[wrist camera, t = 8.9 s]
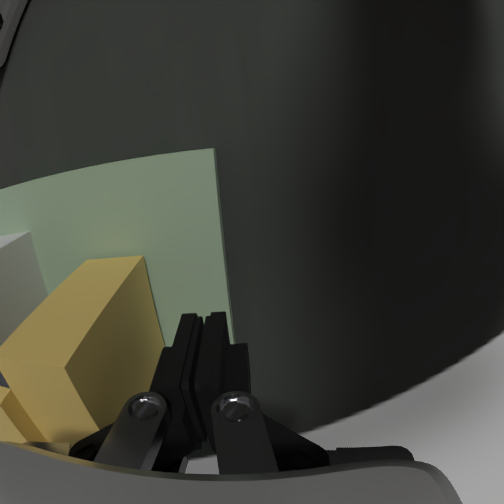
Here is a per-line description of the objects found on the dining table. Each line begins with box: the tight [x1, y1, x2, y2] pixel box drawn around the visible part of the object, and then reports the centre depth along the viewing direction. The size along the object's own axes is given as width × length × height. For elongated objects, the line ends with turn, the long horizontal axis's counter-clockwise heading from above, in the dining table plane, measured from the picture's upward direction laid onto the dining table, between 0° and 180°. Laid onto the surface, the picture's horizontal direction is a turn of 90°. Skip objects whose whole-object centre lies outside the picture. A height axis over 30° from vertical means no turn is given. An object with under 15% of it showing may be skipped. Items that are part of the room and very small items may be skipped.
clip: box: [0, 255, 165, 445], centre depth 10 cm, size 6×6×8 cm
